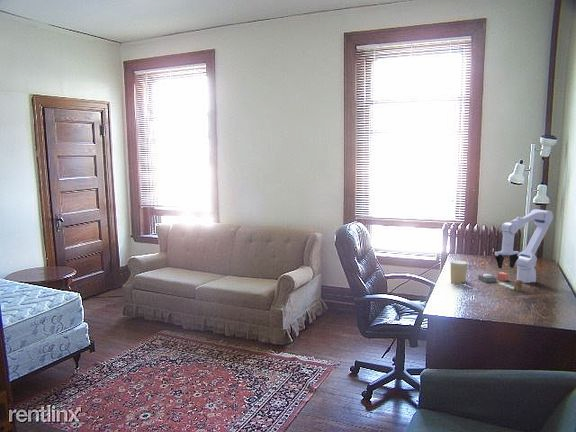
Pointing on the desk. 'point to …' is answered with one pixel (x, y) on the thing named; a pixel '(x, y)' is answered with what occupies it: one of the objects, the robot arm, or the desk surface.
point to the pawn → (518, 285)
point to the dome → (487, 275)
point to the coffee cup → (458, 271)
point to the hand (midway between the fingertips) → (505, 267)
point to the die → (502, 276)
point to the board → (492, 280)
